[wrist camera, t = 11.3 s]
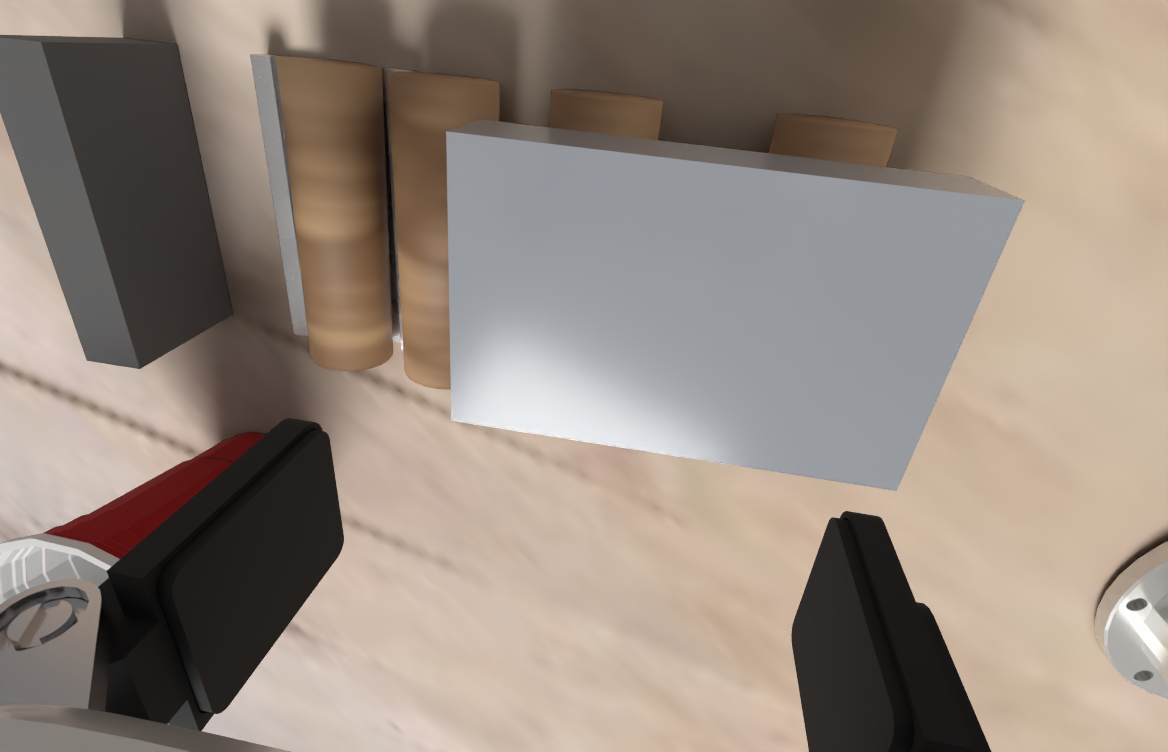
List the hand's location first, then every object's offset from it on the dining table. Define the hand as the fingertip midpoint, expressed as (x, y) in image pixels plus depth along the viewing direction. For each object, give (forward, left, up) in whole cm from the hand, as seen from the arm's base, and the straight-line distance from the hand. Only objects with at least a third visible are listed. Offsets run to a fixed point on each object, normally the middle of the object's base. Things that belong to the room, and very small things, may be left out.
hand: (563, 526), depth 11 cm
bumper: (+21, 0, -17) cm, 27 cm away
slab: (-3, 0, -13) cm, 13 cm away
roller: (+10, 0, -15) cm, 18 cm away
